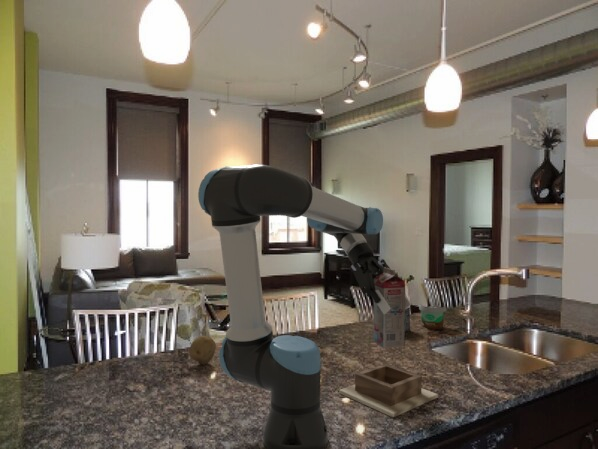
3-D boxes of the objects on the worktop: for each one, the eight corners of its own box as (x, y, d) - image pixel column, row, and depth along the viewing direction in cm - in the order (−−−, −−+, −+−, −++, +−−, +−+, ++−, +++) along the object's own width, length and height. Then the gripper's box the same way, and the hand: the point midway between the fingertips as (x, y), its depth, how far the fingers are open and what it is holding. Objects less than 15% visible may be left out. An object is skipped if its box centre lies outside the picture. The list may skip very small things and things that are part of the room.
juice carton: (383, 347, 126) (384, 270, 125) (373, 341, 132) (373, 267, 132) (404, 346, 128) (405, 269, 127) (393, 339, 134) (394, 266, 133)
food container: (418, 328, 204) (418, 306, 204) (418, 325, 210) (419, 304, 210) (446, 330, 201) (446, 308, 200) (446, 327, 207) (446, 305, 206)
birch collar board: (393, 417, 116) (393, 394, 116) (339, 393, 132) (339, 373, 131) (437, 397, 129) (437, 376, 129) (383, 377, 144) (383, 358, 144)
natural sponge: (196, 370, 150) (196, 341, 150) (184, 363, 157) (184, 335, 157) (220, 364, 156) (220, 336, 155) (208, 358, 163) (207, 331, 162)
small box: (397, 328, 206) (397, 305, 205) (410, 330, 201) (410, 307, 201) (386, 332, 197) (386, 309, 197) (399, 335, 193) (399, 311, 193)
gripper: (373, 254, 148) (413, 311, 136) (326, 259, 134) (365, 322, 123) (386, 239, 144) (428, 296, 132) (338, 242, 130) (380, 306, 118)
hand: (398, 308), depth 127 cm, fingers closed on juice carton, 9 cm apart
